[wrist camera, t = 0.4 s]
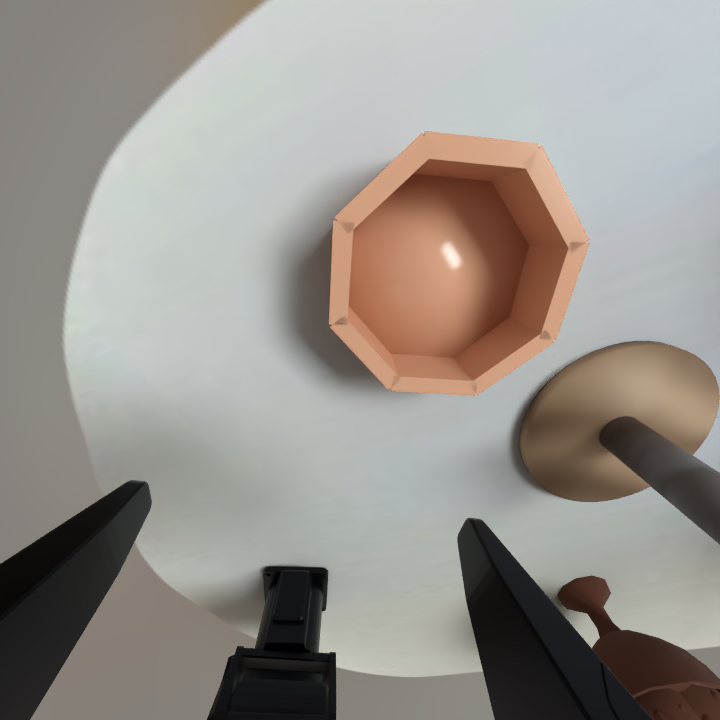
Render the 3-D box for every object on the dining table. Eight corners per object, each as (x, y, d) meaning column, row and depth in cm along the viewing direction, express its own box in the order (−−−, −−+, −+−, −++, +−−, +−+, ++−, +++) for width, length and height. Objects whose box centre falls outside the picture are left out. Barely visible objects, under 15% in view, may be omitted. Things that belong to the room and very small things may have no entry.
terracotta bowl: (502, 369, 23) (535, 399, 19) (330, 358, 22) (326, 387, 18) (558, 170, 18) (621, 152, 14) (340, 148, 17) (337, 121, 13)
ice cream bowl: (649, 560, 32) (874, 806, 18) (608, 621, 36) (766, 858, 23) (553, 557, 32) (712, 809, 18) (523, 620, 36) (632, 863, 22)
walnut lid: (651, 494, 29) (856, 671, 17) (498, 488, 28) (604, 670, 16) (740, 346, 23) (1137, 462, 11) (551, 333, 22) (771, 443, 11)
